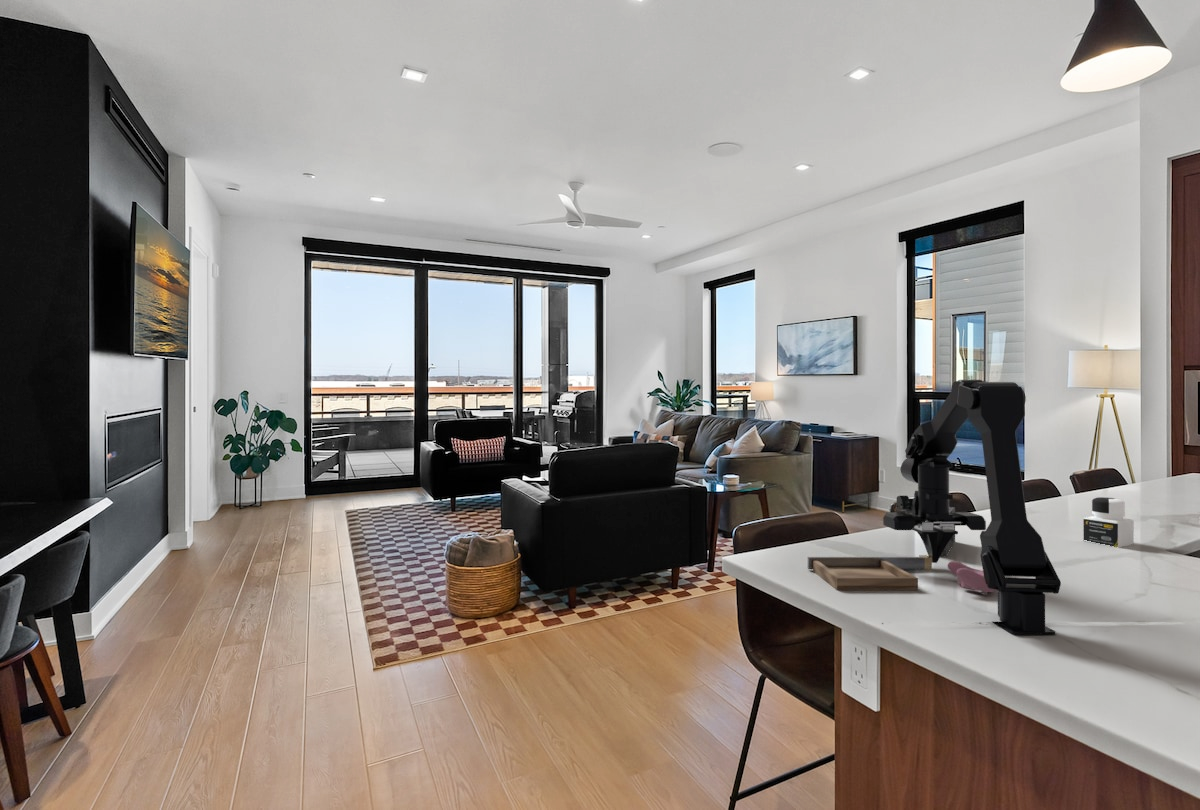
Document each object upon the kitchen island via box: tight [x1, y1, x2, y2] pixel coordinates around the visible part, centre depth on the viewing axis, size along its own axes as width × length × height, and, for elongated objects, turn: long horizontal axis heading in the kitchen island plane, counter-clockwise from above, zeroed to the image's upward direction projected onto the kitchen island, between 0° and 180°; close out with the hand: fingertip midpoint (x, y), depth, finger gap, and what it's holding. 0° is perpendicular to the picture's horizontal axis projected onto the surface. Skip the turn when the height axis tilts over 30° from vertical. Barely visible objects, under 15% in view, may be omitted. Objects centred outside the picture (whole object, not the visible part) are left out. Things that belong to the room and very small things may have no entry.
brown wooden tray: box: [812, 561, 919, 591], centre depth 120 cm, size 13×15×2 cm
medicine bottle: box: [1083, 496, 1135, 548], centre depth 147 cm, size 7×7×12 cm
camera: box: [940, 506, 956, 558], centre depth 143 cm, size 16×4×10 cm, turn 143°
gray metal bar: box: [807, 554, 933, 570], centre depth 128 cm, size 2×26×2 cm, turn 90°
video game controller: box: [947, 560, 996, 596], centre depth 114 cm, size 10×5×7 cm
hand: (933, 562), depth 128 cm, fingers closed
